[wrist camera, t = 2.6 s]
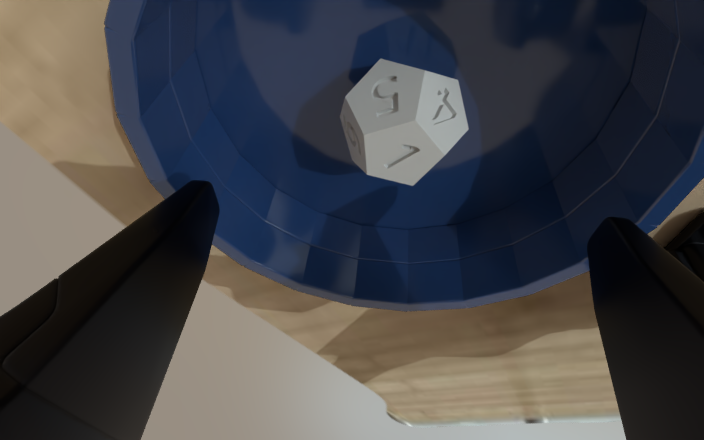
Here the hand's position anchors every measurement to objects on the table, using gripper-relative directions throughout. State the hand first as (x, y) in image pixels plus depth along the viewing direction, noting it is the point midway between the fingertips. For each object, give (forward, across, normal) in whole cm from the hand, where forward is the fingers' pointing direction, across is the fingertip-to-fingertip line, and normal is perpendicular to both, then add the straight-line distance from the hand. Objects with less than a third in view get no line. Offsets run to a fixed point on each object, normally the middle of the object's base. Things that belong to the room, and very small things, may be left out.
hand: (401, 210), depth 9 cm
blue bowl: (+5, 0, 0) cm, 5 cm away
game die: (+5, 0, 0) cm, 5 cm away
